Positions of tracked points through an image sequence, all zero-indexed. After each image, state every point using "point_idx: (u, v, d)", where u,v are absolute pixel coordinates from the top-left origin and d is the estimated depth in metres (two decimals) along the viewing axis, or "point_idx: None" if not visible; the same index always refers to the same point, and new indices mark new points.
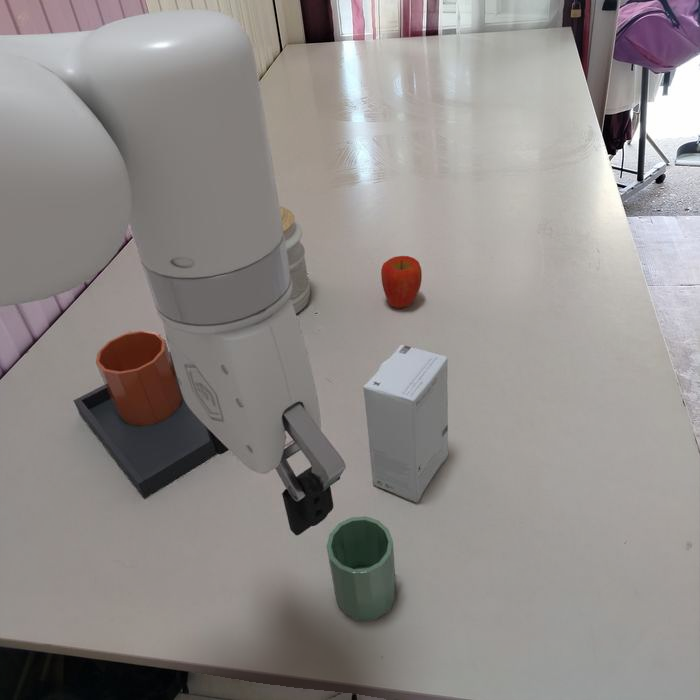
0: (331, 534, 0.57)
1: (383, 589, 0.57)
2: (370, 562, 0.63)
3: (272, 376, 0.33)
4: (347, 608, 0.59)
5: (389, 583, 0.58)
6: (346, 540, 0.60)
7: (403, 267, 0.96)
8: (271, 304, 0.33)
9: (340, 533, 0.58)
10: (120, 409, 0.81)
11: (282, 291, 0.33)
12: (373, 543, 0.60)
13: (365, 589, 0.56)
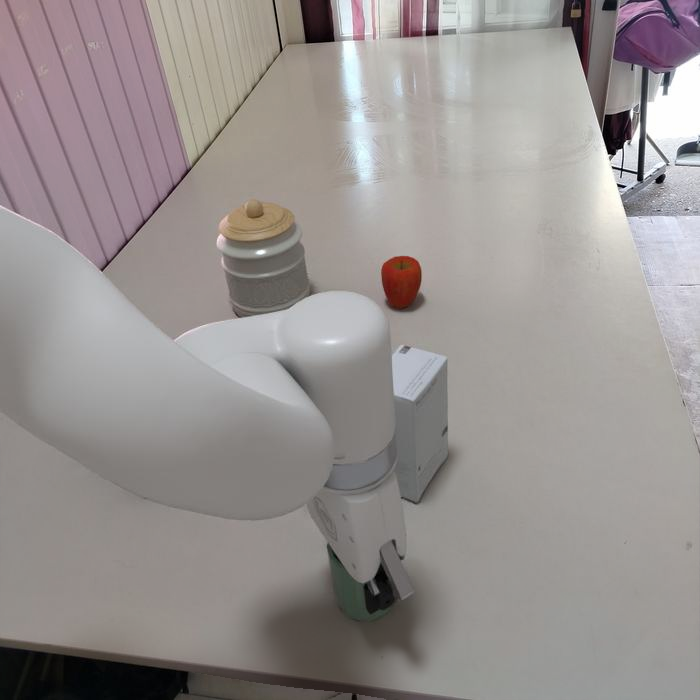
0: None
1: None
2: None
3: (376, 525, 0.47)
4: (347, 608, 0.59)
5: None
6: None
7: (403, 267, 0.96)
8: (381, 477, 0.47)
9: None
10: None
11: (390, 467, 0.47)
12: None
13: None
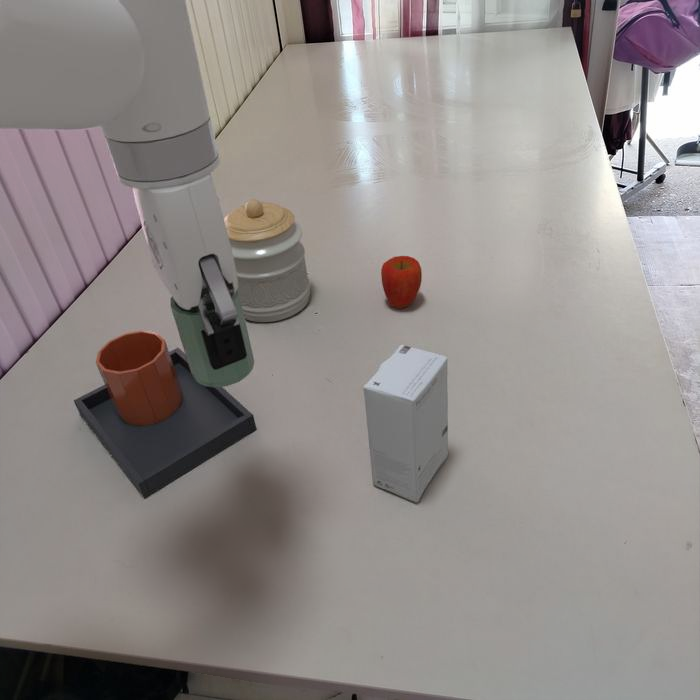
0: None
1: None
2: None
3: (189, 227, 0.45)
4: (197, 372, 0.57)
5: None
6: None
7: (403, 267, 0.96)
8: (191, 172, 0.45)
9: None
10: (120, 409, 0.81)
11: (202, 165, 0.45)
12: None
13: None
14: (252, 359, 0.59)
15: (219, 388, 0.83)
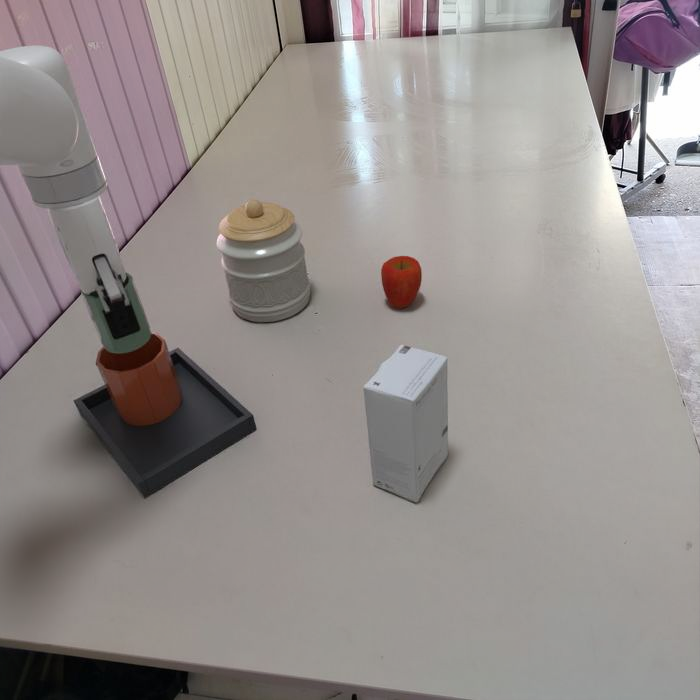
0: None
1: None
2: None
3: (82, 235, 0.64)
4: (104, 342, 0.76)
5: None
6: (106, 293, 0.77)
7: (403, 267, 0.96)
8: (83, 196, 0.64)
9: (98, 283, 0.75)
10: (120, 409, 0.81)
11: (91, 191, 0.64)
12: None
13: None
14: (148, 332, 0.78)
15: (219, 388, 0.83)
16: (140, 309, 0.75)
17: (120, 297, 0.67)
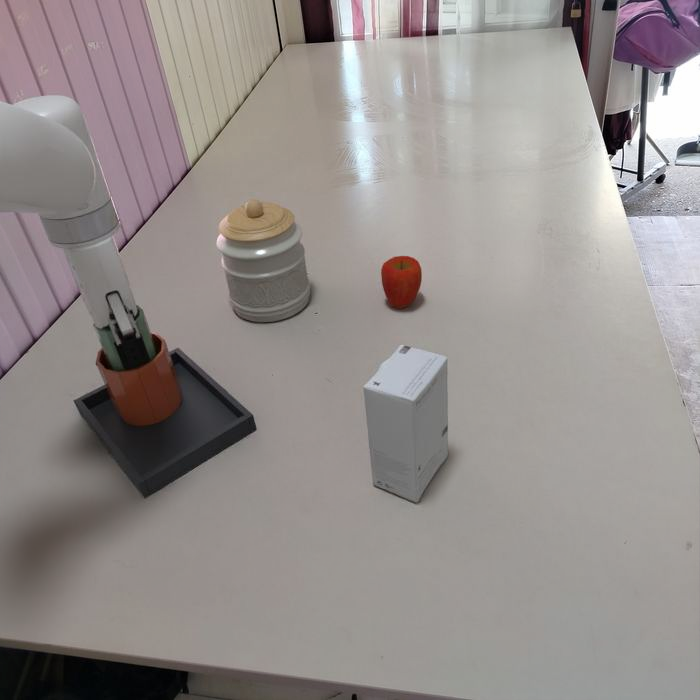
0: None
1: None
2: None
3: (96, 273, 0.67)
4: None
5: None
6: (117, 324, 0.79)
7: (403, 267, 0.96)
8: (97, 237, 0.66)
9: (109, 315, 0.78)
10: (120, 409, 0.81)
11: (105, 231, 0.67)
12: None
13: None
14: None
15: (219, 388, 0.83)
16: (150, 340, 0.78)
17: (132, 332, 0.70)
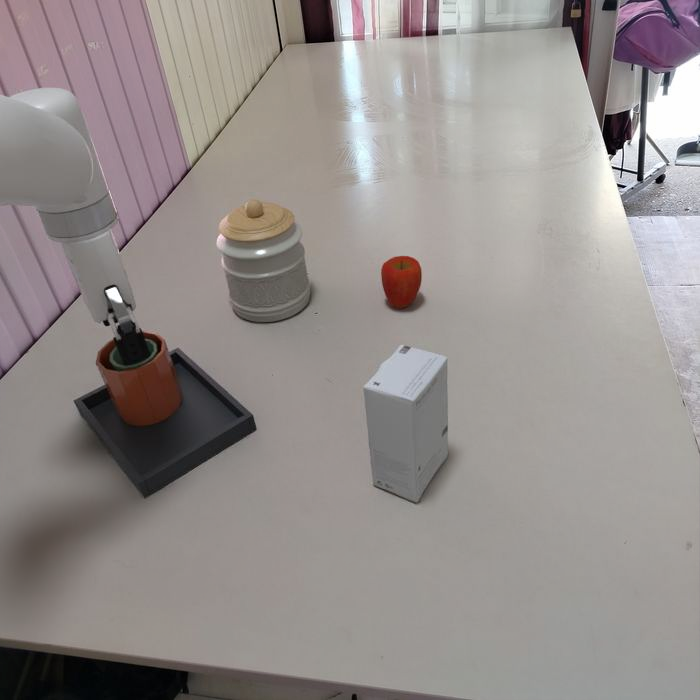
0: (115, 348, 0.81)
1: None
2: None
3: (94, 267, 0.67)
4: None
5: None
6: None
7: (403, 267, 0.96)
8: (95, 231, 0.66)
9: None
10: (120, 409, 0.81)
11: (103, 225, 0.66)
12: None
13: None
14: None
15: (219, 388, 0.83)
16: None
17: (129, 319, 0.67)
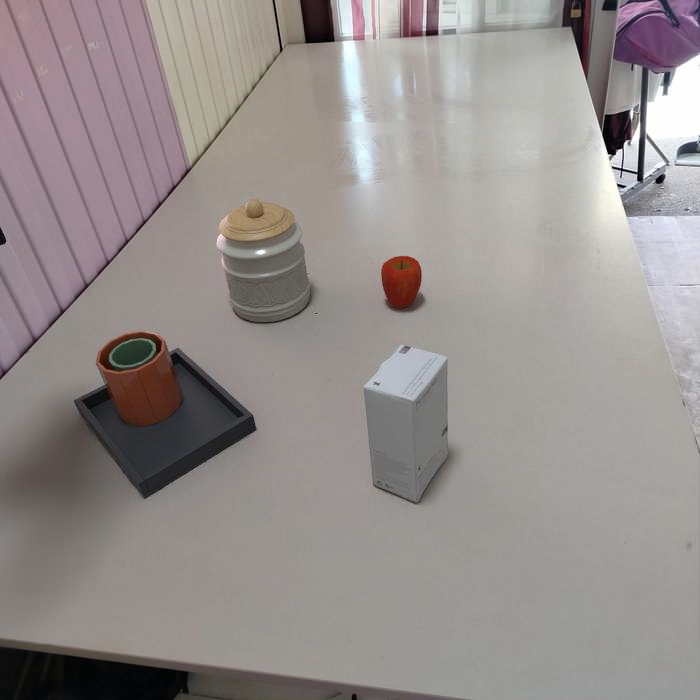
0: (114, 348, 0.81)
1: None
2: None
3: None
4: None
5: None
6: (130, 358, 0.83)
7: (403, 267, 0.96)
8: None
9: (123, 350, 0.82)
10: (120, 409, 0.81)
11: None
12: None
13: None
14: None
15: (219, 388, 0.83)
16: None
17: None
